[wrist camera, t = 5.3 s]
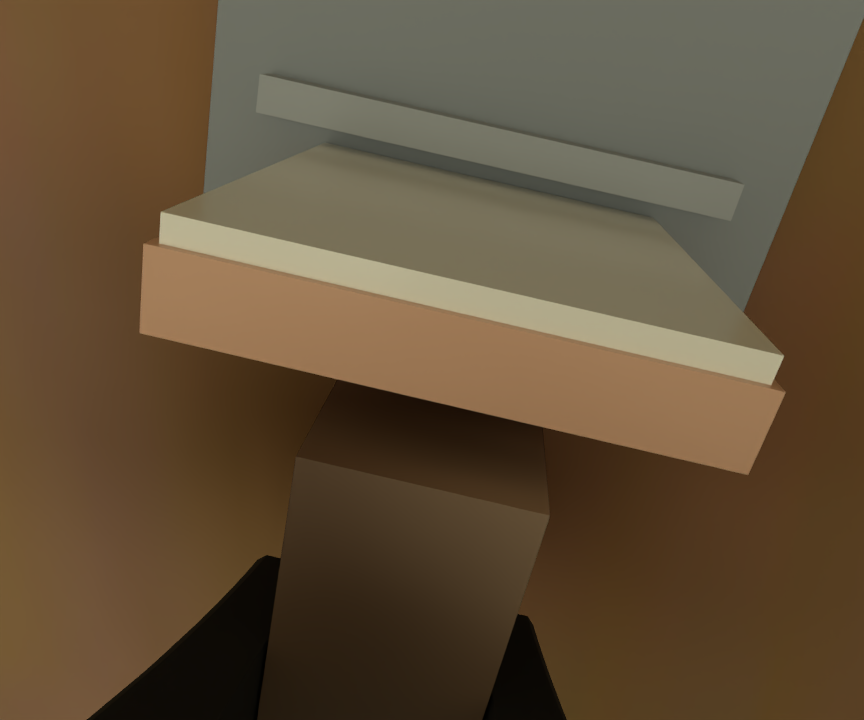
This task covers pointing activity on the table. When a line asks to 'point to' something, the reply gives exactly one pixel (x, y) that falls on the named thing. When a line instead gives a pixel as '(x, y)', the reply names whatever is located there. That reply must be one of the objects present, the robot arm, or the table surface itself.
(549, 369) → the tile
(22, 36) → the table surface
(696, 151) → the mat
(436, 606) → the bar
